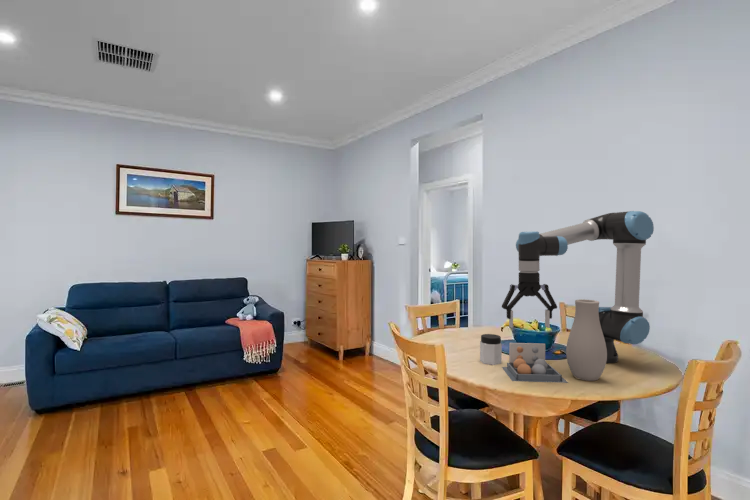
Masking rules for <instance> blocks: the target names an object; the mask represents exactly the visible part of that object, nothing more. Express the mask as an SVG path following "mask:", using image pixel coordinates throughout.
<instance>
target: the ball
mask: <svg viewBox="0 0 750 500" xmlns="http://www.w3.org/2000/svg"><path fill="white" fill-rule="evenodd" d="M517 371H518V374H531V368H530V366H529V365H527V364H520V365H519V366H518V368H517Z"/></svg>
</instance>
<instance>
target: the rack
mask: <svg viewBox="0 0 750 500" xmlns="http://www.w3.org/2000/svg"><path fill="white" fill-rule="evenodd" d="M508 344H509V345H508V346H509V351H508V352H509V353H508V354H509V355H508V359H509V360H508V362H506V366H501V368H502V370H503V371H504V373H505V374H506V376H508V378H509V379H510V381H512V382H524V383H525V382H527V383H528V382H529V383H560V384H561V383H562V384H565V383H566V384H567V383H568V384H569V381H568V380H566V379H565V378H564V377H563V375H562V374H561V373H560V372H558V371H557V370H556V369H555V368H554V367H553V366H552V365H550V364H549V363H547V364H548V368H547V369H546V374H545V375H542V374H533V373H532V367H533V366H534V363H535V361H536V360H537V359H543V360H545V361H546V343H539V342H538V343H536V342H535V343H534V342H527V343H525V342H509V343H508ZM518 358H521V359H523V360H525V362H526V364H527V365H529V366H530V368H531V374H518V371H517V368H514V366H513V363H514V361H515V360H516V359H518Z"/></svg>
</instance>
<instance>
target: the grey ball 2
mask: <svg viewBox="0 0 750 500" xmlns="http://www.w3.org/2000/svg"><path fill="white" fill-rule="evenodd" d="M532 373H533V374H542V375H545V374H546V369H545V367H544V366H543V365H541V364H535V365H534V366H533V367H532Z"/></svg>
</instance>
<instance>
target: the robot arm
mask: <svg viewBox="0 0 750 500" xmlns="http://www.w3.org/2000/svg"><path fill="white" fill-rule="evenodd" d="M654 229H655V227H654V222H653V219H652V218H651V217H650V216H649V214H648V213H646V212H643V211H639V210H635V211H634V210H629V211H619V212H618V211H617V212H609V213H605V214H602V215H597V216H595V217H592V218H588V219H585V220H583V222H582V223H577V224H574V225H570V226H565V227H562V228H558V229H555V230H554V229H553V230H550V231H545V232H543V233H540V232H539V231H520V232H519V234H518V239H517V240H516V242H515V249H516V250H517V252H518V271H519V272H518V284H513V283H511V284H510V285H509V291H508V292H507V294H506V296H505V298H504V300H503V301H502V304H501V308H502V309H504V310H506V319H508V324H509V325H508V326H509V328H511V329H513V328H514V311H513V308H514V307H515V306H516V304H517V303H518V302H519V301H520V300H521V299H522V298H523V297H536V298H537V299H538V300H539V301H540V302H541V303H542V304H543V306H544V307H545V308H546V309H544V327H546V328H547V329H548V328H549V329H550V326H551V324H550V323H551V322H550V319H552V318H553V311H554V310H555V309H558V306H557V303H556V302H555V299H554V298H553V296H552V294H551V292H550V288H549V285H548V284H546V283H543V284H540V278H541V277H540V276H541V275H540V270H541V269H540V268H541V267H540V258H541V257H543V256H544V257H545V256H548V257H549V256H550V257H551V256H556V257H559V256H564V255H565V254H566V253H567V251H568V249H569V246H568V245H572V244H576V243H580V242H584V241H589V242H590V241H591V242H593V241H597V240H598V241H599V240H612V245H614V246H615V248H616V258H615V259H616V262H615V265H616V266H615V286H614V287H615V288H614V290H615V291H614V305H613V306H599V321H600V325H601V329H602V332H603V336H604V339H605V343H606V348H607V361H606V364H613V363H617V362H618V361H619V354H618V351H617V349H616V345H615V342H614V341H618V342H622V343H624V344H628V345H639V344H641V343H643V342H644V341H645V339H647V337H648V335H649V333H650V328H651V327H650V322H649V320H648V319H646V317H644V311H643V310H642V309H641V308H640V288H641V287H640V285H641V283H640V281H641V262H642V261H641V260H642V255H641V254H642V249H643V248H644V247H645V246H646V245H647V244H646V243H647V240H648V239H650V238H651V237H652V235H653V233H654ZM516 290H518V293H517V294H516V295H515V297H514V298H513V299H512V297H513V296H514V293H515V292H516ZM540 290H542V291H543V292H544V294H545V296H546V299H547V300H548V302H549V303H548V302H547V300H546V299H545V298H544V297H543V295H541V293H540V292H539V291H540ZM511 299H512V300H511Z"/></svg>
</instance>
